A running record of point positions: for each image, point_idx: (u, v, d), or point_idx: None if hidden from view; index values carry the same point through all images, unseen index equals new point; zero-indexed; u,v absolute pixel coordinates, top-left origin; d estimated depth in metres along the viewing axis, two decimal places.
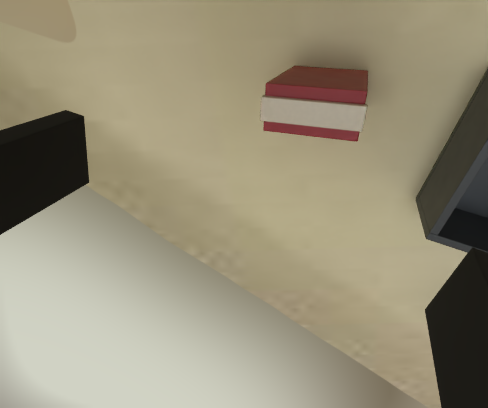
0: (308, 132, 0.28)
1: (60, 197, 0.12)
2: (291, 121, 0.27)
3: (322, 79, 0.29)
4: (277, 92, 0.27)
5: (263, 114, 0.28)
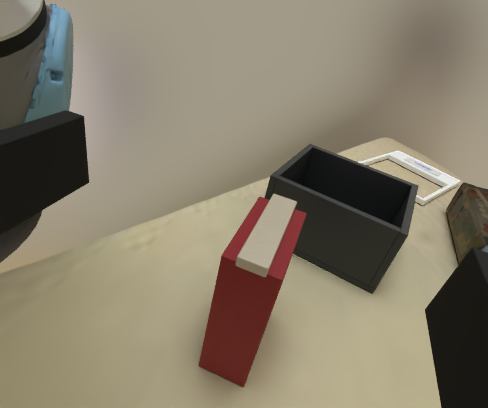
0: (292, 240, 0.23)
1: (60, 197, 0.12)
2: (276, 240, 0.21)
3: None
4: (237, 249, 0.21)
5: (261, 262, 0.20)
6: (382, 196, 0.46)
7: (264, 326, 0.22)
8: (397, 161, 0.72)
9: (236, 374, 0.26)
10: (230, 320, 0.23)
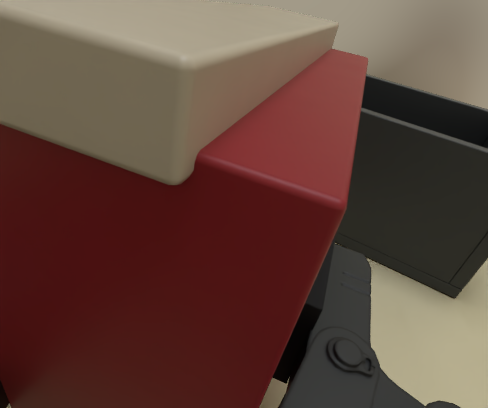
0: (346, 80, 0.05)
1: None
2: (278, 27, 0.04)
3: None
4: None
5: (132, 28, 0.02)
6: None
7: None
8: None
9: None
10: None
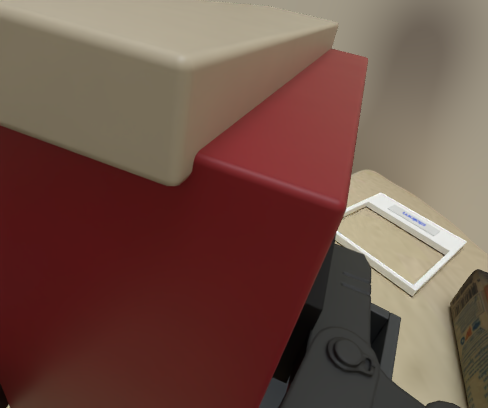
0: (346, 80, 0.05)
1: None
2: (277, 26, 0.04)
3: None
4: None
5: (130, 28, 0.02)
6: None
7: None
8: (379, 211, 0.53)
9: None
10: None
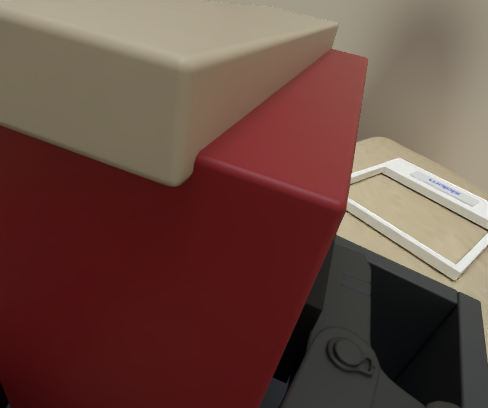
0: (346, 81, 0.05)
1: None
2: (278, 28, 0.04)
3: None
4: None
5: (132, 29, 0.02)
6: None
7: None
8: (398, 178, 0.41)
9: None
10: None
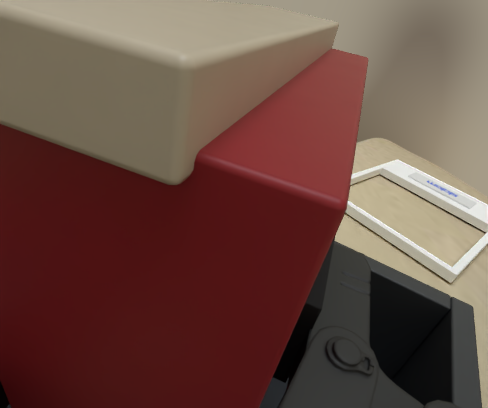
0: (346, 80, 0.05)
1: None
2: (278, 26, 0.04)
3: None
4: None
5: (130, 28, 0.02)
6: None
7: None
8: (396, 179, 0.41)
9: None
10: None
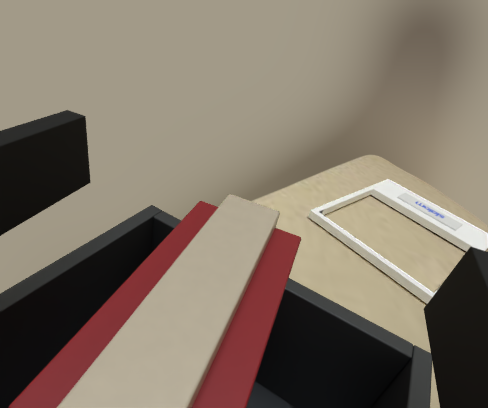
0: (262, 320, 0.08)
1: (61, 197, 0.12)
2: (209, 333, 0.07)
3: None
4: (79, 371, 0.07)
5: None
6: (328, 362, 0.16)
7: None
8: (386, 200, 0.43)
9: None
10: None
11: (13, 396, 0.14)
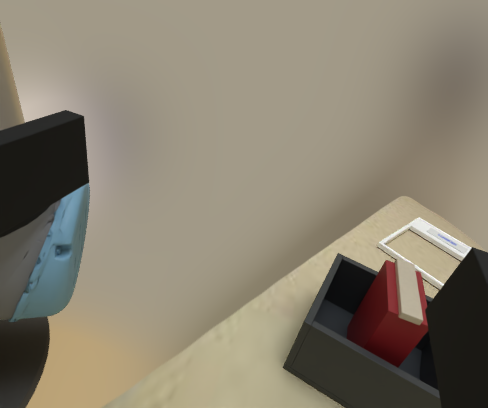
0: (422, 296, 0.34)
1: (60, 197, 0.12)
2: (417, 298, 0.33)
3: (371, 306, 0.37)
4: (394, 305, 0.32)
5: (417, 315, 0.31)
6: None
7: (407, 354, 0.33)
8: (419, 233, 0.69)
9: None
10: (381, 349, 0.34)
11: None
